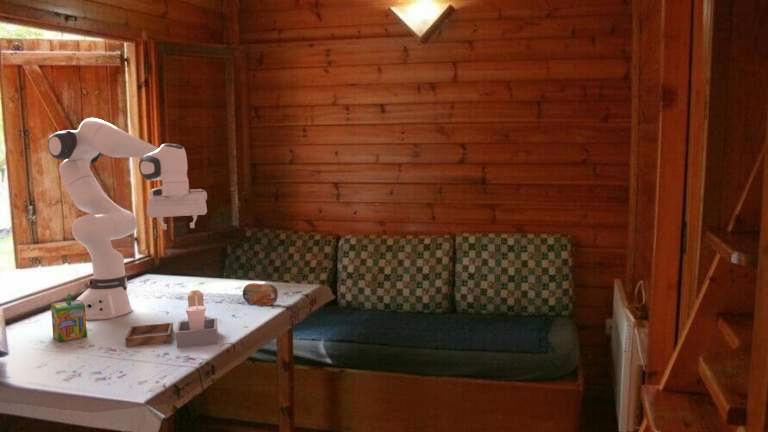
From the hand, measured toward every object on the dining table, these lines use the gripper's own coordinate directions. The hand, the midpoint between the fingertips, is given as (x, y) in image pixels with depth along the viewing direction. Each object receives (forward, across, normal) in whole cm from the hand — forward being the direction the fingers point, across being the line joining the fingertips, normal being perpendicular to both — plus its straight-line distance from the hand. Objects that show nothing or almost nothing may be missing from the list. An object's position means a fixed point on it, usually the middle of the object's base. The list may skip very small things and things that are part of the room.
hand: (178, 228), depth 233 cm
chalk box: (+34, +37, +6) cm, 51 cm away
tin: (+34, -28, -16) cm, 47 cm away
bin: (+34, -6, +23) cm, 42 cm away
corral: (+34, +10, +17) cm, 39 cm away
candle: (+34, -4, -5) cm, 35 cm away
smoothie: (+33, -5, +23) cm, 41 cm away
